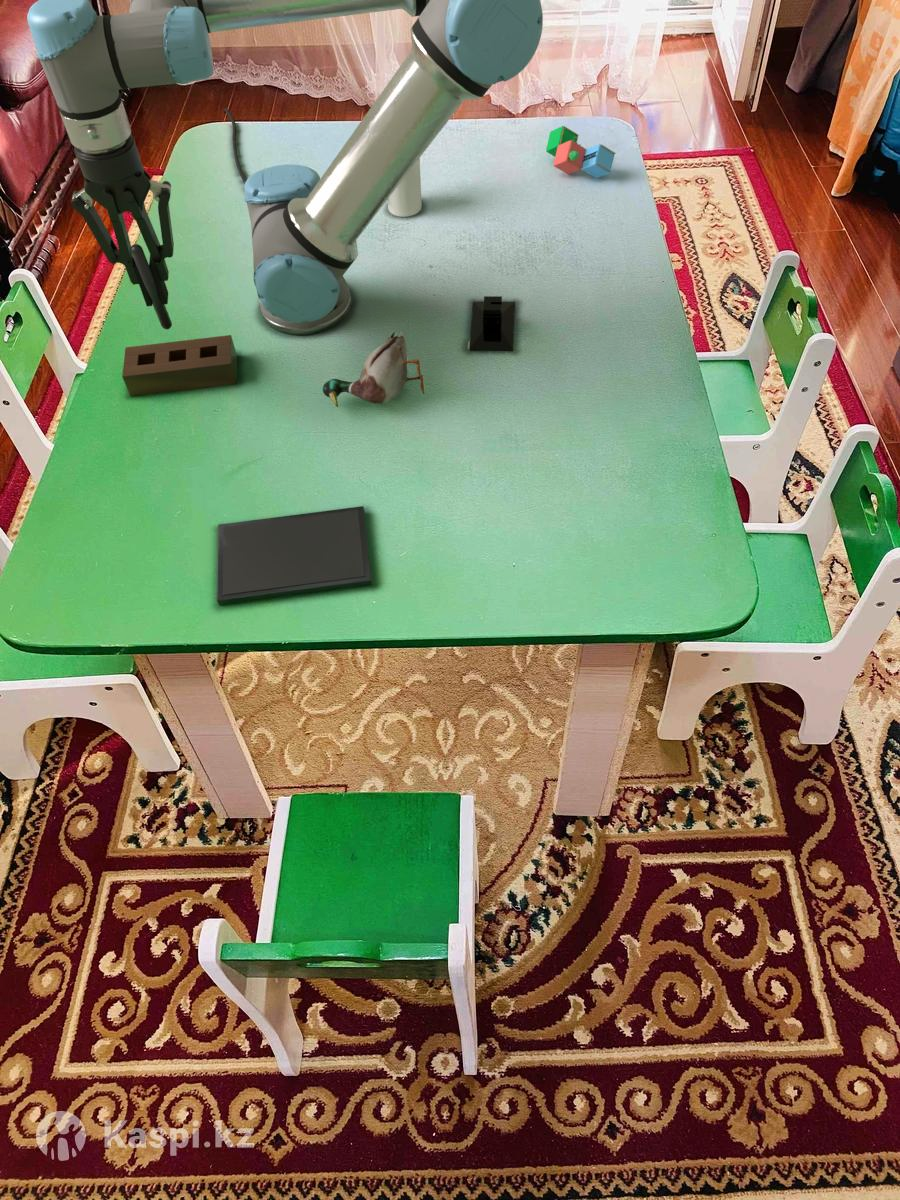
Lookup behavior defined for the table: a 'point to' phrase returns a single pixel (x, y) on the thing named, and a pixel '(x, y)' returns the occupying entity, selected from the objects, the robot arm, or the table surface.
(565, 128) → the building blocks
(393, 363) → the decorative duck model
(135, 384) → the pen stand
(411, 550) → the table surface
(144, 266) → the stylus
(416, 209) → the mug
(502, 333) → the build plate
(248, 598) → the tablet
